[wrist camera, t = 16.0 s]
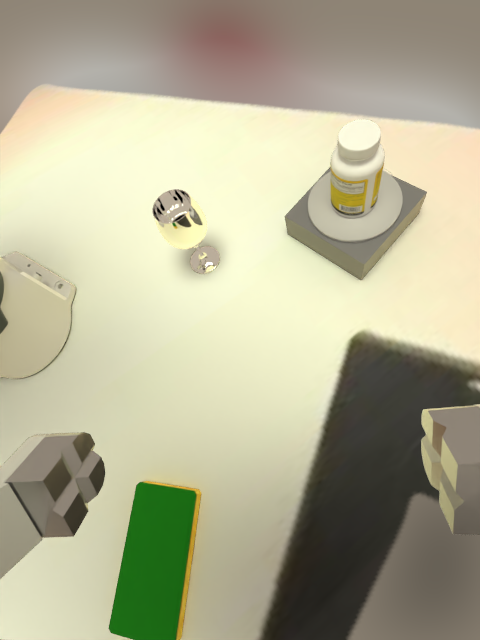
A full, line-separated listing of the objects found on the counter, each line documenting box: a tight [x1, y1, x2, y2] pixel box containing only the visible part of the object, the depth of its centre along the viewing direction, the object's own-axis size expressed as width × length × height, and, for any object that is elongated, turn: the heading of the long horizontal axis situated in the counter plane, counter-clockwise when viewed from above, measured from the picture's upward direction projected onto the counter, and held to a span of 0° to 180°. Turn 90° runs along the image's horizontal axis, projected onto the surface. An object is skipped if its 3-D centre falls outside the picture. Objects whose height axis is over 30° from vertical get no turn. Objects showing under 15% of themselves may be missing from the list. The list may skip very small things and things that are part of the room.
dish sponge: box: [109, 481, 201, 640], centre depth 38 cm, size 7×14×2 cm, turn 173°
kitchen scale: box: [285, 167, 427, 280], centre depth 45 cm, size 12×13×5 cm
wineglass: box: [153, 189, 220, 274], centre depth 45 cm, size 6×6×12 cm
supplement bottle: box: [330, 119, 385, 218], centre depth 38 cm, size 5×5×10 cm
